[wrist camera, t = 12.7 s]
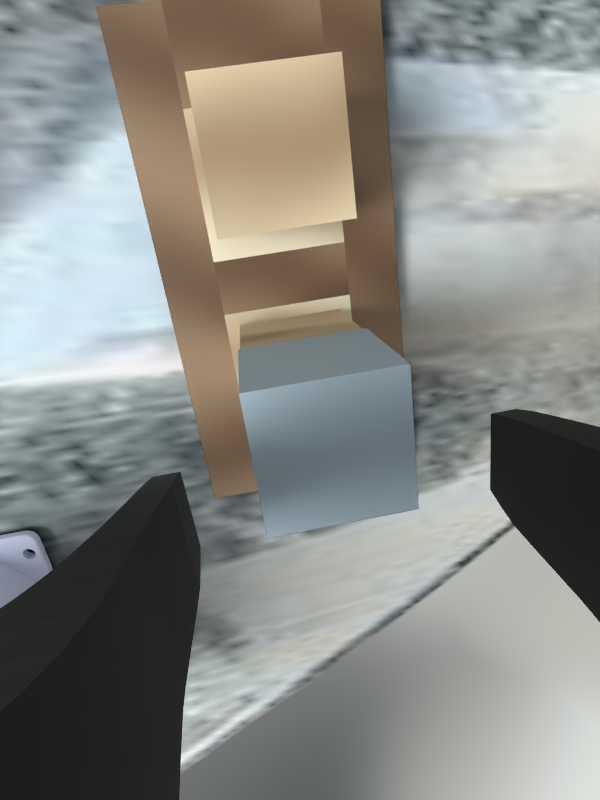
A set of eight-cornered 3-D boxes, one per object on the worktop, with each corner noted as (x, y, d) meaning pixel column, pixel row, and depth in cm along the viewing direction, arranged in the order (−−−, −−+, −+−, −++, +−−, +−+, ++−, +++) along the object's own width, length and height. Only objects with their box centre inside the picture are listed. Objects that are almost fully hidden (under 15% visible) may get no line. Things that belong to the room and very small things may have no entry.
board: (405, 455, 22) (409, 461, 22) (215, 491, 22) (215, 498, 21) (373, -18, 16) (378, -27, 15) (101, 14, 15) (95, 6, 15)
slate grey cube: (376, 442, 16) (418, 508, 12) (260, 464, 16) (267, 538, 12) (366, 327, 15) (410, 363, 11) (238, 349, 14) (238, 393, 11)
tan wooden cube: (328, 219, 18) (356, 218, 13) (221, 235, 17) (217, 239, 13) (314, 95, 16) (341, 51, 12) (198, 111, 16) (184, 71, 12)
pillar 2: (349, 401, 20) (378, 447, 16) (257, 417, 20) (262, 469, 16) (338, 309, 19) (368, 333, 15) (239, 325, 19) (240, 355, 14)
